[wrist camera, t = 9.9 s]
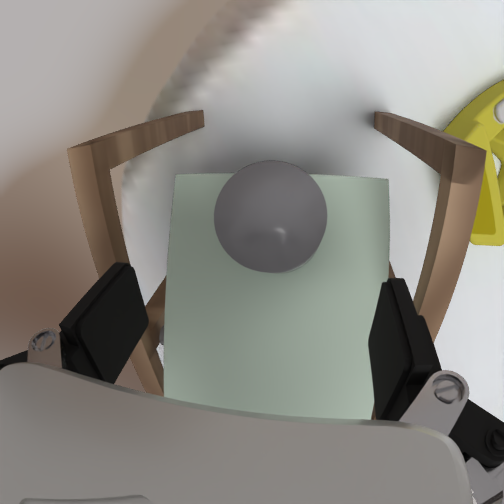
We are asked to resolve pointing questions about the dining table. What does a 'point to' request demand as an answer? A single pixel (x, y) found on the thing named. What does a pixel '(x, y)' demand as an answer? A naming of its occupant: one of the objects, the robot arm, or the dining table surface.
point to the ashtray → (492, 140)
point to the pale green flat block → (275, 308)
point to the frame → (432, 275)
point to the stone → (271, 217)
